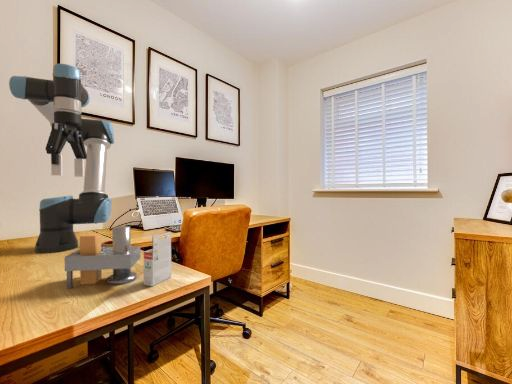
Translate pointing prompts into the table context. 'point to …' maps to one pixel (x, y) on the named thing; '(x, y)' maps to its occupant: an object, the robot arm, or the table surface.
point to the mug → (107, 244)
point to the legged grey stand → (107, 259)
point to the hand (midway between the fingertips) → (69, 176)
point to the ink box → (158, 260)
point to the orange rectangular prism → (90, 246)
